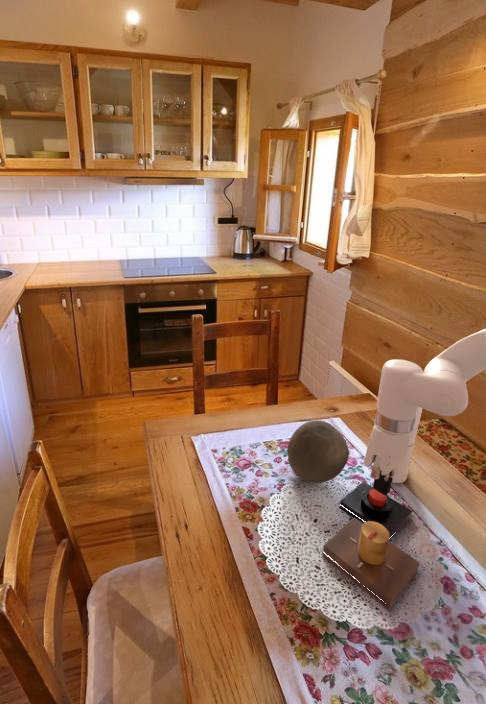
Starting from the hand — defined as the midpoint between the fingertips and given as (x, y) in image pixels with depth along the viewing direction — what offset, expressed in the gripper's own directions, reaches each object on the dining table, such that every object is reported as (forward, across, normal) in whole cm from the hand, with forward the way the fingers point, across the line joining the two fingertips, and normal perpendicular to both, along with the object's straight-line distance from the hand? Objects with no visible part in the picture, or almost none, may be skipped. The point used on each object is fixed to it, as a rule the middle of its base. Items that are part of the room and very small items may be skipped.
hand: (381, 490), depth 90 cm
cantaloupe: (+7, +1, -16) cm, 18 cm away
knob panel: (+7, +13, +6) cm, 16 cm away
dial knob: (+4, +13, +6) cm, 15 cm away
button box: (+7, 0, 0) cm, 7 cm away
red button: (+3, 0, 0) cm, 3 cm away
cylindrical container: (+7, -16, -5) cm, 18 cm away
